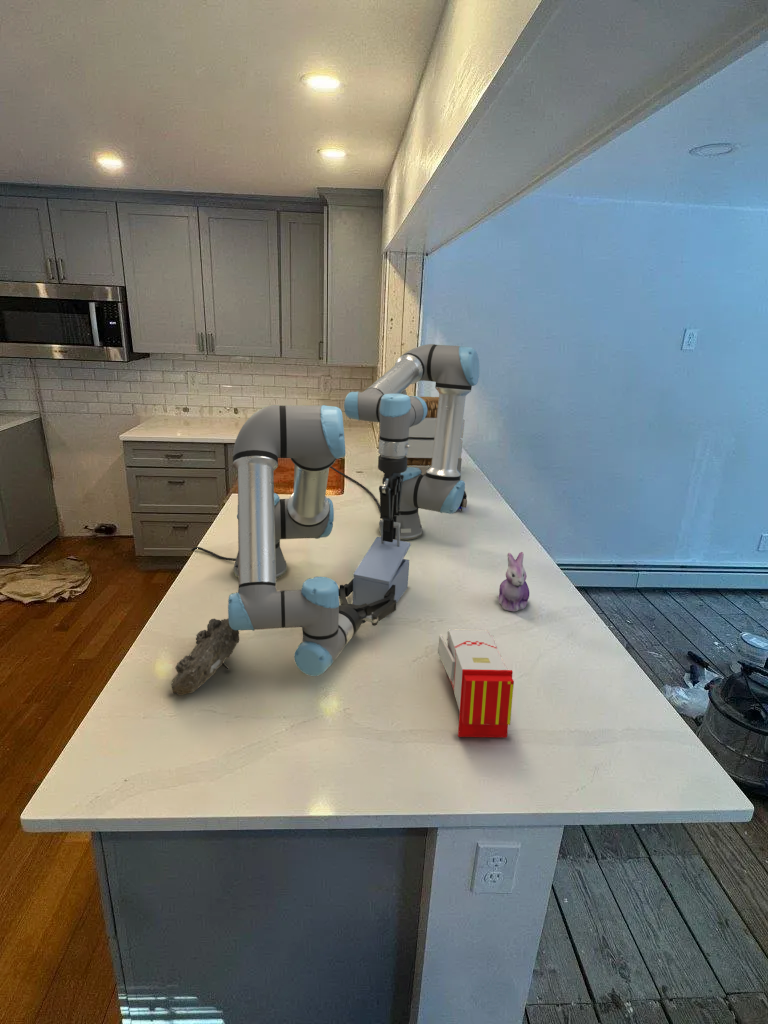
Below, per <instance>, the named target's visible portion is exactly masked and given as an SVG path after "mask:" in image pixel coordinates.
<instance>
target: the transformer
mask: <svg viewBox="0 0 768 1024" xmlns="http://www.w3.org/2000/svg"><path fill="white" fill-rule="evenodd" d="M401 394H405V395H408V393H407V390H406V389H405V390H404V391H403V392H402V393H401ZM419 397H420V398H422V399H423V400H424V401H425V403H426V405H427V415H426V417H425V419H424V420H423V421H421V422H420V423H419V424H417V425H414V426H412V427H409V439H408V444H409V445H410V448H408V454H407V455H406V457H407V467H417V466H418V467H431V464H432V455H433V446H434V437H435V428H436V419H437V410H438V401H439V396H419ZM464 429H465V419H464V418H463V423H462V431H461V439H460V447H459V455H458V464H457V470H458V471H459V473H460V474H461V475H462V473H461V472H462V461H463V460H462V453H463V442H464V441H463V440H462V439H463V438H464V431H465V430H464Z"/></svg>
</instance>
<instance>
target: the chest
mask: <svg viewBox="0 0 768 1024" xmlns="http://www.w3.org/2000/svg"><path fill="white" fill-rule="evenodd" d="M409 575H410V559H408V558H407V559H406V558H404V559H403V560H402V562H401V564H400V566H399V568H398V570H397V572H396V573H395V575H394V577H393V579H392V581H391V583H390V584H389V585H388V584H383V583H379V582H374V581H369V580H364V579H359V578H354V577H352V579H353V592H352V603H351V604H354V605H362V604H365V603H366V604H370V603H373V602H375V601H378V600H381V599H383V598H384V595H385V594H386V592H387V591H388V590H389V589H390V588H391V586H392V585H395V598H394V600H396V604H398V603H399V601H400V600H401V598H402V597H403V595H404V594H405V592H406V591H407V590H408V588H409Z"/></svg>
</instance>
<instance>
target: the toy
mask: <svg viewBox="0 0 768 1024" xmlns="http://www.w3.org/2000/svg"><path fill="white" fill-rule="evenodd" d="M446 640H447V643H446V641H445V639H444V636H443V635H442V634H439V637H438V646H437V656H438V657H439V659H440V661H441V663H442V666H443V668H444V670H445V672H446V674H447V677H448V679H449V681H450V684H451V687H452V690H453V693H454V697H455V701H456V705H457V708H458V711H459V714H458V715H459V716H458V730H457V731H458V732H457V737H458V738H508V731H509V726H510V725H511V717H512V707H513V697H514V696H513V695H514V684H515V680H514V679H513V673H514V671H513V670H512V669H508V667H507V665H506V662H505V661H504V659H503V658H502V655H501V653H500V651H499V649H498V647H497V643H496V639H495V637H494V635H493V634H491V632H490V631H489V629H467V628H466V629H465V628H463V629H461V628H460V629H459V628H448V630H447V639H446Z"/></svg>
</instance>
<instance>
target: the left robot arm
mask: <svg viewBox="0 0 768 1024" xmlns="http://www.w3.org/2000/svg"><path fill="white" fill-rule="evenodd" d="M343 417H344V416H343V411H342V409H341V408H340V407H339V406H333V405H326V404H322V405H280V404H272V405H268V406H264V407H261V408H259V410H256V411H255V412H254V413H252V415H251V416H249V418H248V419H247V420H246V421H245V422H244V424H242V426H241V428H240V430H239V432H238V434H237V436H236V439H235V441H234V445H233V450H232V467H233V468H234V469H235V471H237V515H236V519H237V527H238V528H237V546H238V547H237V549H238V550H237V554H236V557H226V556H222V555H219V554H218V553H215V552H213V551H210V550H209V549H205V548H203V547H202V546H201V547H200V546H194V547H192V548H191V549H190V551H191V552H194V551H195V550H199V551H202V552H204V553H207V554H209V555H211V556H213V557H216V558H218V559H219V560H224V561H232V562H234V564H233V575H234V577H235V578H237V579H238V590H237V592H233V593H230V594H229V596H228V600H227V601H228V604H227V619H228V620H229V625H230V627H231V628H232V629H233V630H238V631H252V632H255V631H258V630H272V629H290V628H291V629H292V628H302V640H301V642H300V644H299V645H298V646H297V648H296V649H295V651H294V654H293V659H294V664H295V665H296V667H297V669H299V671H300V672H301V673H303V674H305V675H306V676H311V677H318V676H321V675H323V674H324V673H325V672H326V671H327V670H328V668H330V667H331V666H332V665H333V663H334V662H335V661H336V660H337V658H338V657H339V655H340V654H341V653H342V652H343V650H344V649H345V647H346V646H347V645H348V643H349V642H350V641H351V639H352V638H353V637H354V636H355V634H356V633H357V632H358V631H359V629H361V627H362V624H365V623H366V622H368V623H371V625H372V627H377V626H378V624H379V622H380V621H383V620H384V619H385V618H387V617H388V616H389V615H391V614H393V613H394V612H396V611H397V603H396V600H394V598H395V585H392V586H391V588H390V589H389V590H388V591H387V592H386V594H385V595H384V598H383V599H381V600H378V601H375V602H373V603H370V604H366V603H365V604H362V605H354V604H352V603H350V602H348V597H349V596H350V595H351V594H353V578H352V579H351V580H350V581H349V582H348V583H345V584H340V585H338V583H337V581H335V580H334V579H332V578H329V577H327V576H314V577H313V578H311V577H310V578H307V579H305V580H304V581H303V583H302V586H301V589H291V590H289V589H288V590H277V580H279V579H281V578H282V577H284V576H285V575H286V574H287V572H288V569H287V568H288V565H287V561H286V559H285V556H284V553H283V550H282V548H281V540H294V539H295V540H297V539H298V540H299V539H315V540H318V539H323V538H324V539H325V538H327V537H329V536H330V535H331V533H332V531H333V527H334V519H335V510H334V509H335V508H334V503H333V500H332V499H331V498H329V497H327V496H326V495H327V487H328V481H329V480H328V479H329V471H330V467H331V466H332V467H333V465H334V464H335V462H336V461H337V459H338V460H339V459H343V458H344V457H345V456H346V455H347V454H346V440H345V427H344V418H343ZM279 459H290V461H291V462H292V463H293V465H294V467H293V468H294V469H293V470H294V471H293V493H291V495H290V496H289V498H280V496H279V494H278V493H276V492H275V482H274V481H275V478H274V477H275V475H274V473H275V472H274V471H275V470H277V468H278V467H279ZM197 548H198V549H197Z"/></svg>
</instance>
